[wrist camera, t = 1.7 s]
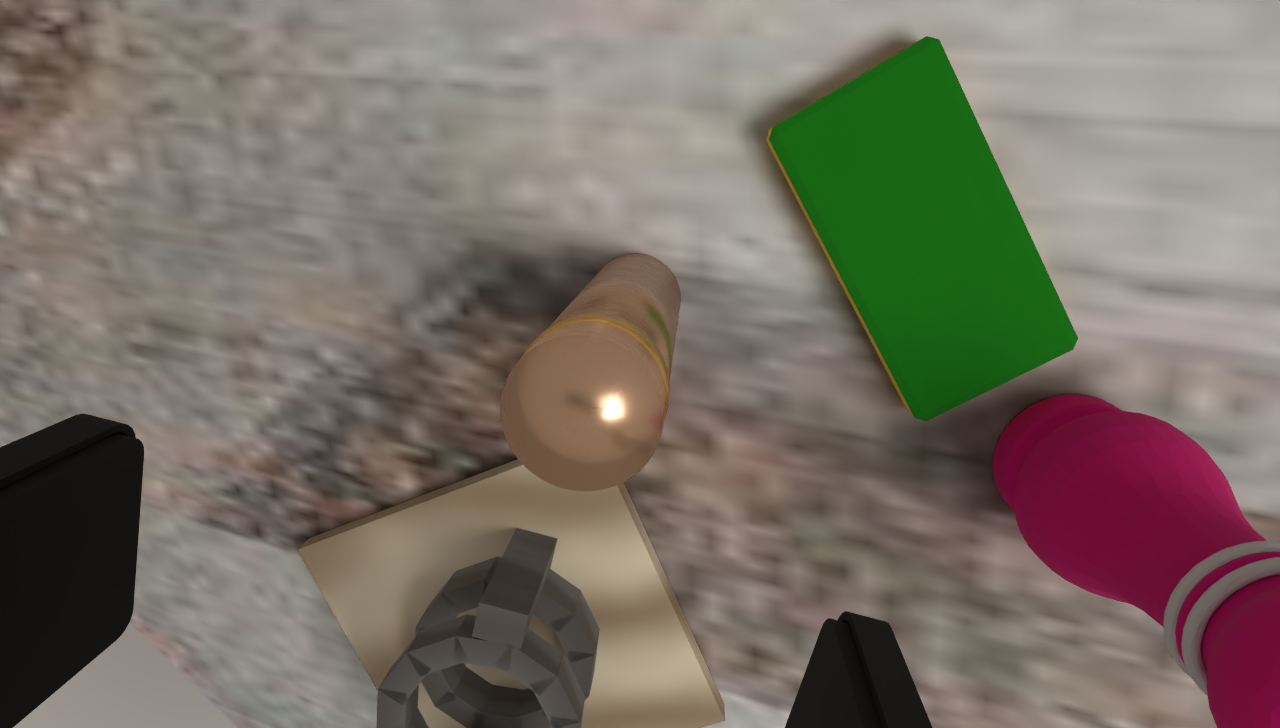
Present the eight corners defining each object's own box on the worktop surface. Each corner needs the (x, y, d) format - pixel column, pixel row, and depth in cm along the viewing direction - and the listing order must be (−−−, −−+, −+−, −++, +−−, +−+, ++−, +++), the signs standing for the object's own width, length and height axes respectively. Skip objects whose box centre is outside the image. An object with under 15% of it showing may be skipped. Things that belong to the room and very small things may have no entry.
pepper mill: (965, 522, 35) (1277, 953, 16) (998, 373, 34) (1398, 663, 14) (1124, 541, 35) (1638, 1005, 16) (1167, 391, 33) (1811, 713, 14)
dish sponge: (918, 40, 31) (936, 30, 28) (1055, 333, 33) (1082, 346, 31) (761, 133, 32) (765, 131, 30) (904, 407, 35) (919, 425, 32)
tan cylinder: (695, 323, 34) (691, 460, 19) (611, 356, 35) (540, 514, 19) (660, 237, 33) (625, 307, 18) (575, 273, 34) (470, 369, 18)
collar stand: (724, 703, 39) (729, 827, 32) (449, 786, 42) (397, 917, 35) (598, 428, 36) (572, 497, 28) (309, 538, 38) (218, 625, 31)
